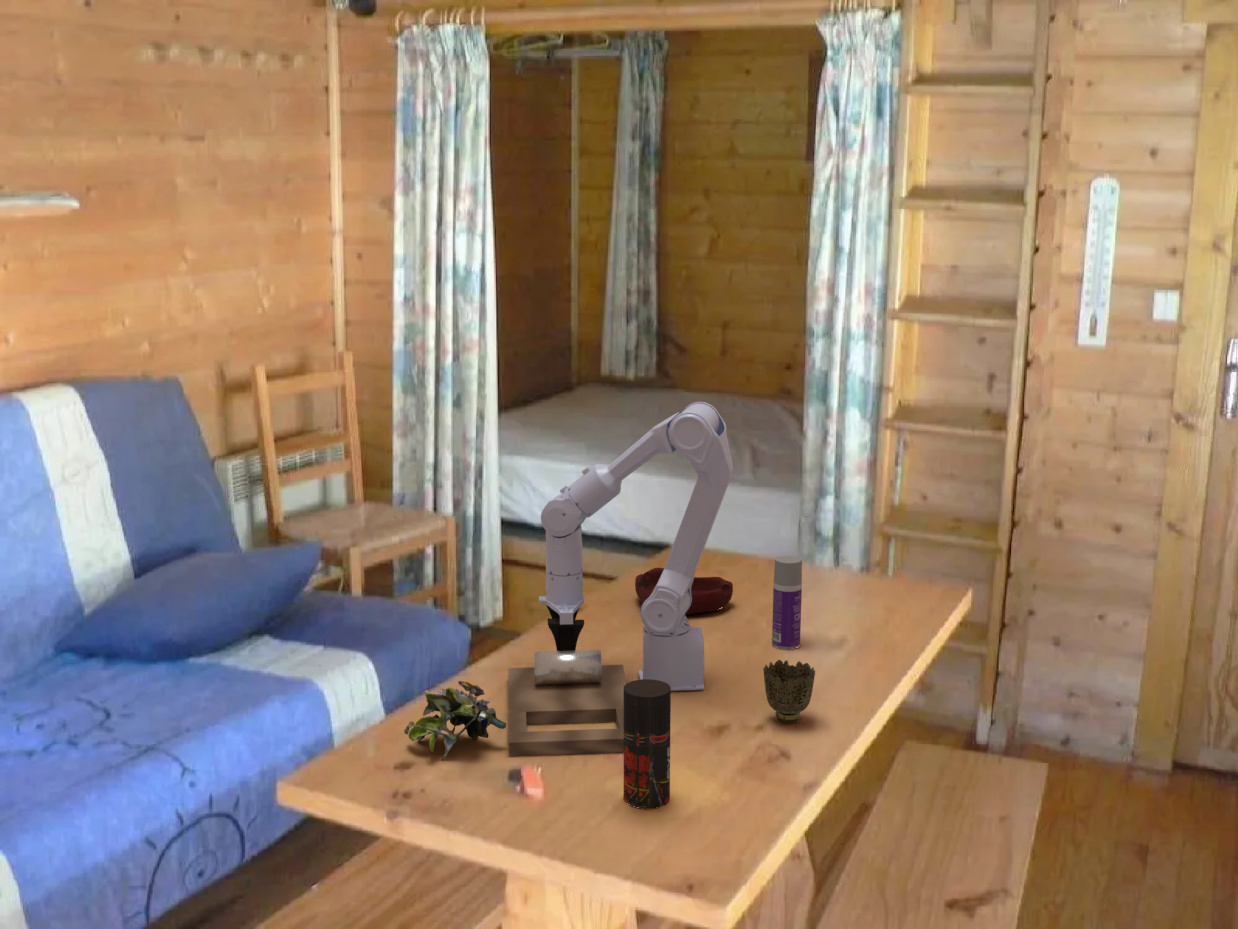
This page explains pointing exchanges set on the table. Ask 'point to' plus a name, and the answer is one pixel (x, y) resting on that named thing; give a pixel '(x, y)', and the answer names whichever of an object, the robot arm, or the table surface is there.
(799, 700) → the cup
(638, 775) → the deodorant
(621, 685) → the grey brown board
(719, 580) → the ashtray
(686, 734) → the table surface
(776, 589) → the container
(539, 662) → the roller
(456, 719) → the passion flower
